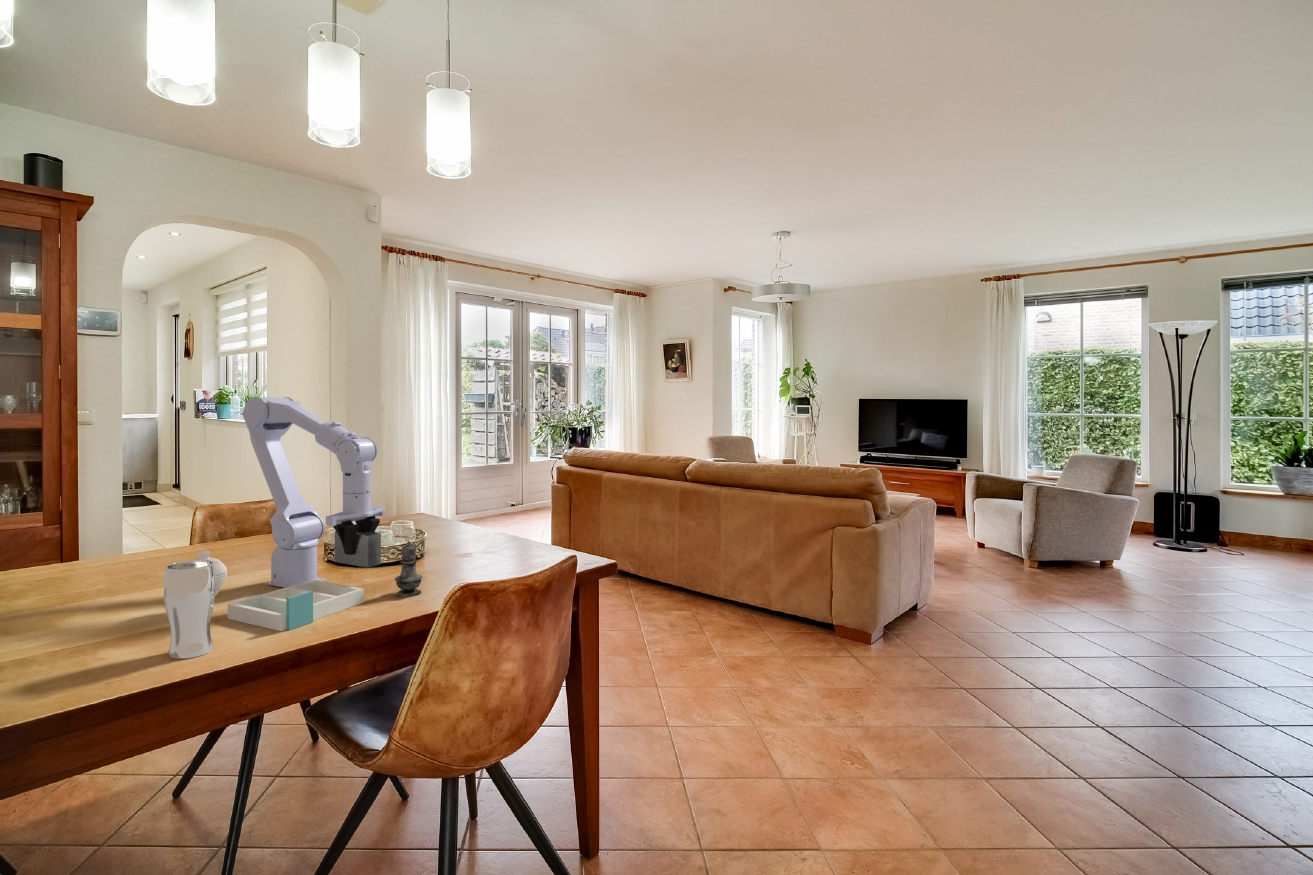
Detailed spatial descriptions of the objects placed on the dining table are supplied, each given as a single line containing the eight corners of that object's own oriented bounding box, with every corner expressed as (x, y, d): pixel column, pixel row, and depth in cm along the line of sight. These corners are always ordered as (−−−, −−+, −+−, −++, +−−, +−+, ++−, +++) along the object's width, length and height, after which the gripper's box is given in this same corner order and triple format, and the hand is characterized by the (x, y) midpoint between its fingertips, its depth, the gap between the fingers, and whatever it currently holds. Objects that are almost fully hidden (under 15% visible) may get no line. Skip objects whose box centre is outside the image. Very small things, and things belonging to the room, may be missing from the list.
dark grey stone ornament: (412, 598, 138) (413, 544, 137) (388, 596, 139) (389, 542, 138) (427, 590, 143) (428, 538, 143) (404, 588, 144) (404, 536, 144)
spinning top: (236, 607, 129) (236, 549, 128) (198, 619, 122) (198, 557, 121) (210, 602, 131) (209, 545, 131) (171, 613, 124) (170, 553, 123)
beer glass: (182, 644, 109) (181, 559, 109) (225, 643, 110) (224, 559, 109) (154, 660, 102) (152, 570, 102) (199, 660, 103) (198, 570, 102)
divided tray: (227, 618, 122) (227, 588, 122) (314, 592, 140) (314, 565, 139) (284, 632, 116) (284, 600, 116) (367, 602, 134) (367, 575, 133)
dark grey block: (334, 561, 141) (334, 531, 141) (347, 558, 144) (347, 528, 144) (368, 567, 137) (368, 535, 137) (380, 563, 141) (380, 533, 140)
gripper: (342, 497, 132) (342, 561, 133) (395, 489, 145) (395, 547, 146) (318, 495, 135) (318, 557, 135) (372, 487, 148) (372, 544, 149)
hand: (356, 552), depth 141 cm, fingers closed on dark grey block, 3 cm apart
